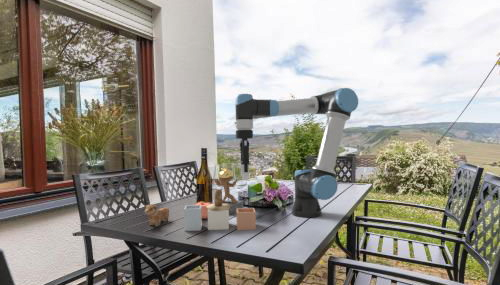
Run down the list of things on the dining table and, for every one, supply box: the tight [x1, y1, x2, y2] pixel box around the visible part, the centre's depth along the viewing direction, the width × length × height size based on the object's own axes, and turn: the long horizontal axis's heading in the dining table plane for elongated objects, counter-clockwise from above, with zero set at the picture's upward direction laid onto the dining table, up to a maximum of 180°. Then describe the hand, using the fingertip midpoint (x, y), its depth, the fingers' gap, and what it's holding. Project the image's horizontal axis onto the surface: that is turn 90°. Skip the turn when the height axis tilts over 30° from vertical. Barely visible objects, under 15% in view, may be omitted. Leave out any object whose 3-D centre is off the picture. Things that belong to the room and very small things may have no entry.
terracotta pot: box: [235, 207, 257, 231], centre depth 133 cm, size 8×8×8 cm
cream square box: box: [207, 209, 230, 231], centre depth 134 cm, size 9×9×9 cm
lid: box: [207, 188, 230, 211], centre depth 134 cm, size 10×10×8 cm
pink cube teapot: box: [194, 201, 212, 219], centre depth 151 cm, size 8×12×8 cm, turn 83°
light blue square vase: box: [183, 204, 203, 232], centre depth 132 cm, size 7×7×10 cm
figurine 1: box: [143, 204, 170, 227], centre depth 142 cm, size 7×16×10 cm, turn 158°
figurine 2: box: [214, 166, 244, 216], centre depth 160 cm, size 14×11×25 cm
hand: (244, 178), depth 133 cm, fingers open, 13 cm apart
